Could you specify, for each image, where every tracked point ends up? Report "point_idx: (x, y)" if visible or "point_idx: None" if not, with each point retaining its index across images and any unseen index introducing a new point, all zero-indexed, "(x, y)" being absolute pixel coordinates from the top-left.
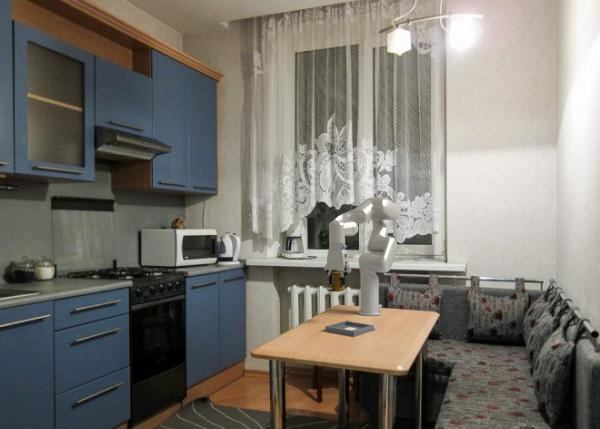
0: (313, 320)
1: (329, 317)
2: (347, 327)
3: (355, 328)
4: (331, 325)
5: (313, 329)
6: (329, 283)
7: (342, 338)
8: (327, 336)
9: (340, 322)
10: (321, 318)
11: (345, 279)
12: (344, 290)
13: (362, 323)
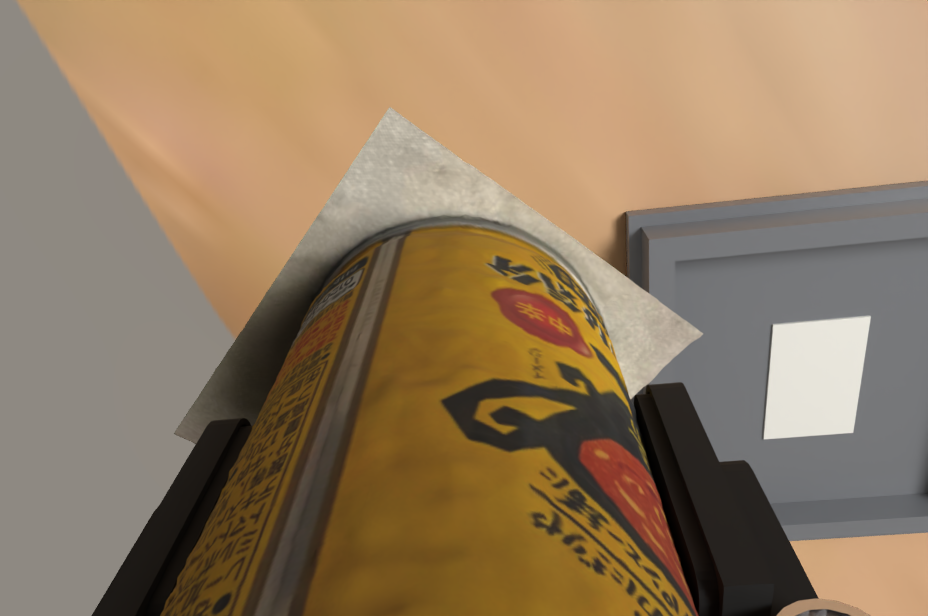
0: (220, 285)
1: (179, 7)
2: (756, 341)
3: (856, 328)
4: None
5: None
6: None
7: (894, 588)
8: None
9: None
10: (177, 138)
11: (789, 569)
12: (566, 250)
13: (899, 216)
